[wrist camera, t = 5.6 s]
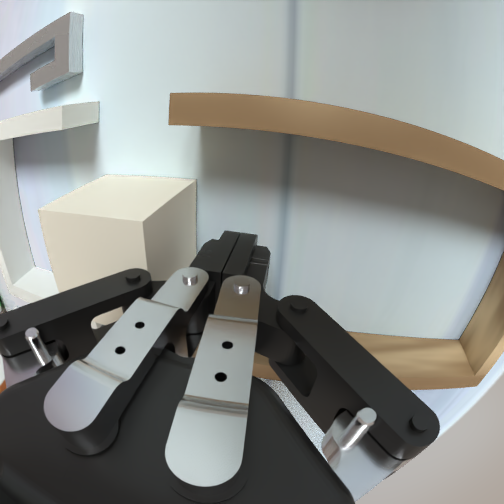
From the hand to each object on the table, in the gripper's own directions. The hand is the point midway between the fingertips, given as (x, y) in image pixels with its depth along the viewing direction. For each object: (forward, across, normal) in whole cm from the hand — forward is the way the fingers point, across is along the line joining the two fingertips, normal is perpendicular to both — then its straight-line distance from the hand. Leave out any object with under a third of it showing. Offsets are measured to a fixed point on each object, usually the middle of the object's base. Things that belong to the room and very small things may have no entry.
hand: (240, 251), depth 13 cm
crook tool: (+2, +17, -10) cm, 20 cm away
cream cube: (+2, +5, 0) cm, 6 cm away
